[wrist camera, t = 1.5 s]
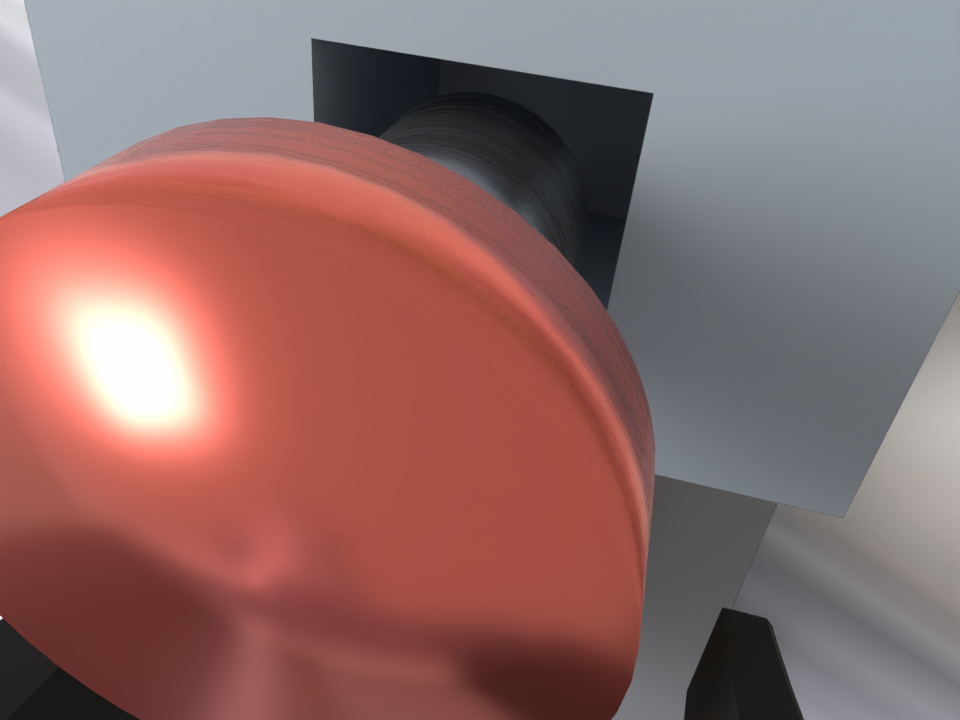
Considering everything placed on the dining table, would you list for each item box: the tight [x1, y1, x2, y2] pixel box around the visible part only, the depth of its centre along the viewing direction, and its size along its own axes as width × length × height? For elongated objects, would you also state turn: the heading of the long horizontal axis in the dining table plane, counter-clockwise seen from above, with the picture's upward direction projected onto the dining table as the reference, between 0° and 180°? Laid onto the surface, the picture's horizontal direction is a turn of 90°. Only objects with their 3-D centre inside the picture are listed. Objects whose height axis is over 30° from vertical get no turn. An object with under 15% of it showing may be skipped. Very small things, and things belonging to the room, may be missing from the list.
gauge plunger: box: [0, 92, 656, 720], centre depth 5 cm, size 3×3×4 cm
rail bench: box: [24, 0, 960, 720], centre depth 14 cm, size 23×9×6 cm, turn 175°
